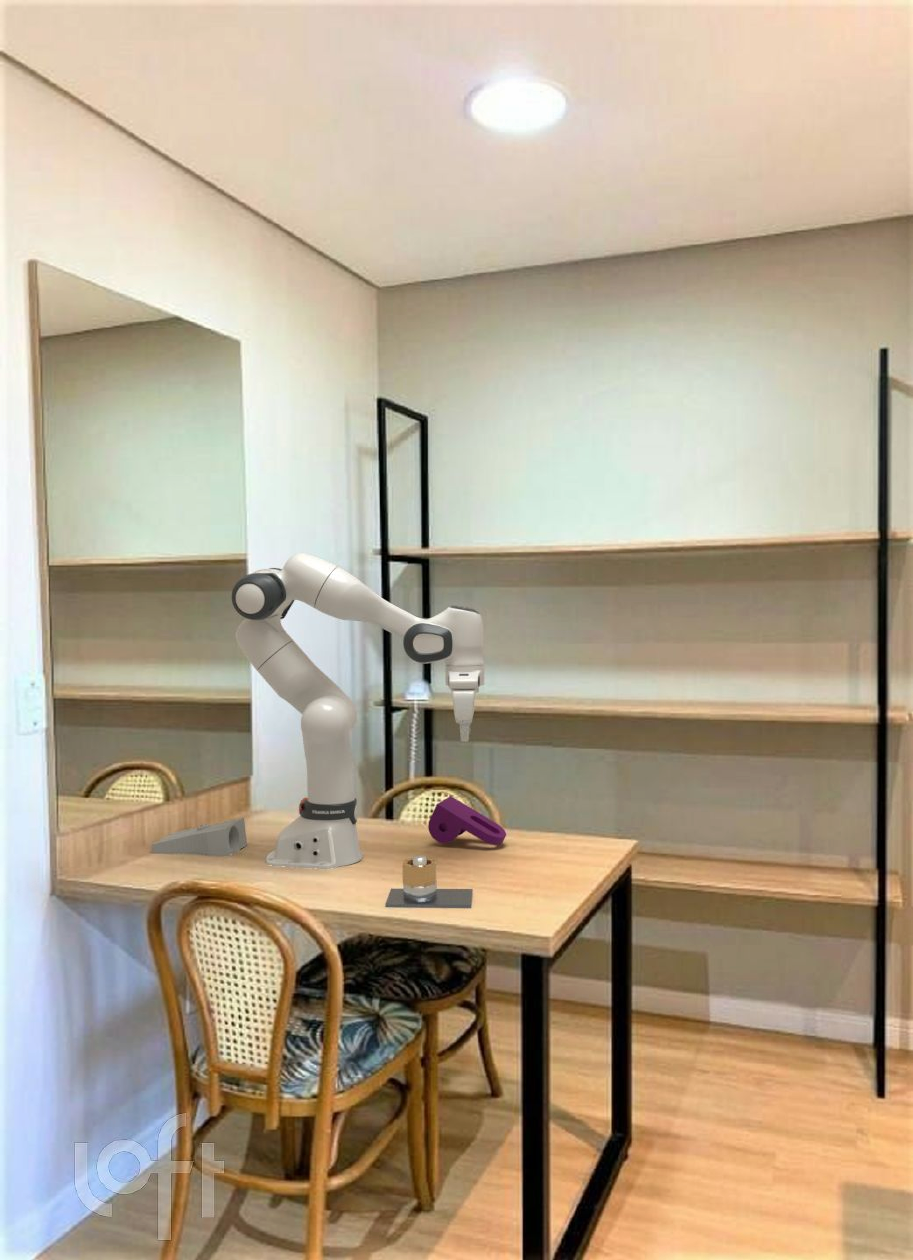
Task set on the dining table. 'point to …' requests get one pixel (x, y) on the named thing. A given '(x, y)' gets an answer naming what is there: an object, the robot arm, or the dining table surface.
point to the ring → (419, 873)
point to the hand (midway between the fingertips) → (465, 737)
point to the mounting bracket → (462, 823)
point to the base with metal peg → (428, 895)
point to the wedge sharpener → (205, 840)
